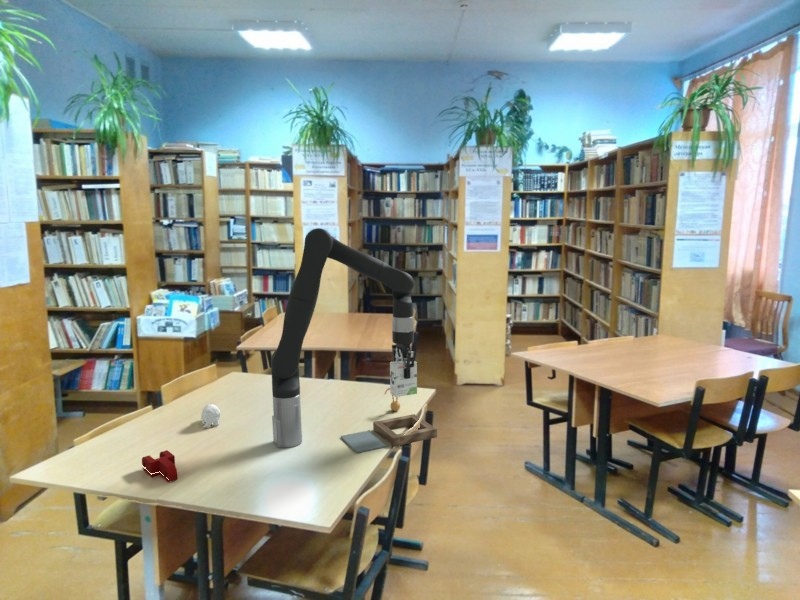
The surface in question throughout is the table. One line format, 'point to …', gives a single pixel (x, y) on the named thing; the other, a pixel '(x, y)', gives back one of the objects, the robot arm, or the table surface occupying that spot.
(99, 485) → the table surface
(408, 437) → the holder
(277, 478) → the table surface
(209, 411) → the white domed ornament
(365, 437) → the mat
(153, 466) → the dark red block
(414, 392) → the ink box
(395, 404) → the figurine
